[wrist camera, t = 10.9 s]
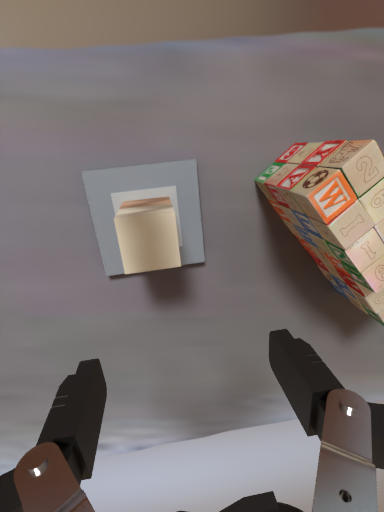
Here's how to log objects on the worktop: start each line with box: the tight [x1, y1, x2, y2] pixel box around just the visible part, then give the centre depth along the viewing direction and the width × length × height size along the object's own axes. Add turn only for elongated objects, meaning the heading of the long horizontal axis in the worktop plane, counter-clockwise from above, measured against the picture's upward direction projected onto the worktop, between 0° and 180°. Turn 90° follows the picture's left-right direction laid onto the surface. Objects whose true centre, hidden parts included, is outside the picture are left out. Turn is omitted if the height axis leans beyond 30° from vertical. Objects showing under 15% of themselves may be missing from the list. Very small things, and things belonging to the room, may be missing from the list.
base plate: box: [81, 159, 205, 276], centre depth 31 cm, size 12×12×1 cm
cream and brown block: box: [114, 196, 181, 274], centre depth 27 cm, size 5×5×8 cm
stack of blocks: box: [255, 140, 384, 325], centre depth 30 cm, size 21×6×12 cm, turn 41°
